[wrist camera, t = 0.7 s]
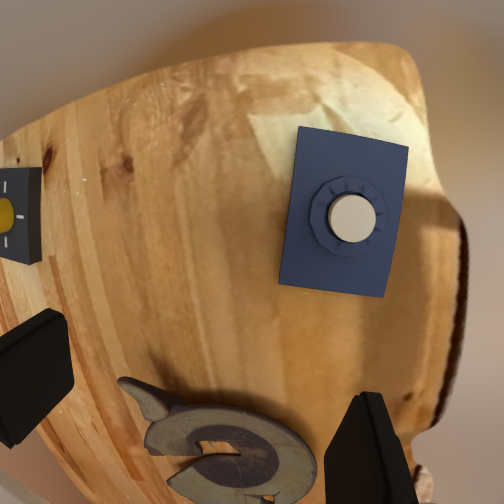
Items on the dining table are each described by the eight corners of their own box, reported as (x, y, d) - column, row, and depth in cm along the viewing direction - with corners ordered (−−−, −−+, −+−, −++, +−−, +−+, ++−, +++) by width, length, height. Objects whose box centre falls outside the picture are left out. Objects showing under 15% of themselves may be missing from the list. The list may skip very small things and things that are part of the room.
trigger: (331, 191, 24) (334, 192, 22) (373, 198, 24) (379, 199, 22) (324, 234, 25) (327, 238, 23) (366, 241, 25) (371, 245, 23)
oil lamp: (186, 488, 40) (174, 520, 33) (117, 344, 34) (84, 377, 27) (320, 488, 37) (320, 525, 29) (303, 330, 31) (305, 373, 23)
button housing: (298, 130, 27) (299, 121, 23) (400, 149, 26) (416, 144, 22) (279, 276, 30) (277, 291, 26) (377, 290, 29) (388, 305, 25)
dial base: (0, 168, 32) (-13, 169, 29) (42, 167, 31) (27, 167, 28) (1, 250, 34) (-12, 254, 32) (41, 260, 33) (28, 265, 31)
